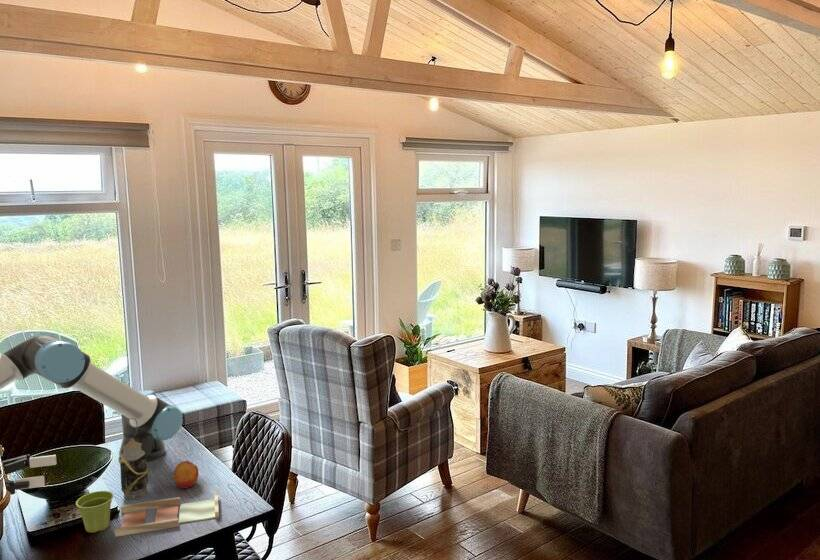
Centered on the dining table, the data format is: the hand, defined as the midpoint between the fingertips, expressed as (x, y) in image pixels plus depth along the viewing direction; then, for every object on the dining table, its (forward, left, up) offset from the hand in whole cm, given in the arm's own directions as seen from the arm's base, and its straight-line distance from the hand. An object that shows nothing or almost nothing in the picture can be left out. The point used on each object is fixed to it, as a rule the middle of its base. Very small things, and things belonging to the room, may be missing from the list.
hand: (50, 469), depth 171 cm
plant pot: (0, +10, -19) cm, 22 cm away
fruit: (-18, +34, -19) cm, 43 cm away
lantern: (-17, +19, -19) cm, 32 cm away
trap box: (0, +29, -19) cm, 35 cm away
